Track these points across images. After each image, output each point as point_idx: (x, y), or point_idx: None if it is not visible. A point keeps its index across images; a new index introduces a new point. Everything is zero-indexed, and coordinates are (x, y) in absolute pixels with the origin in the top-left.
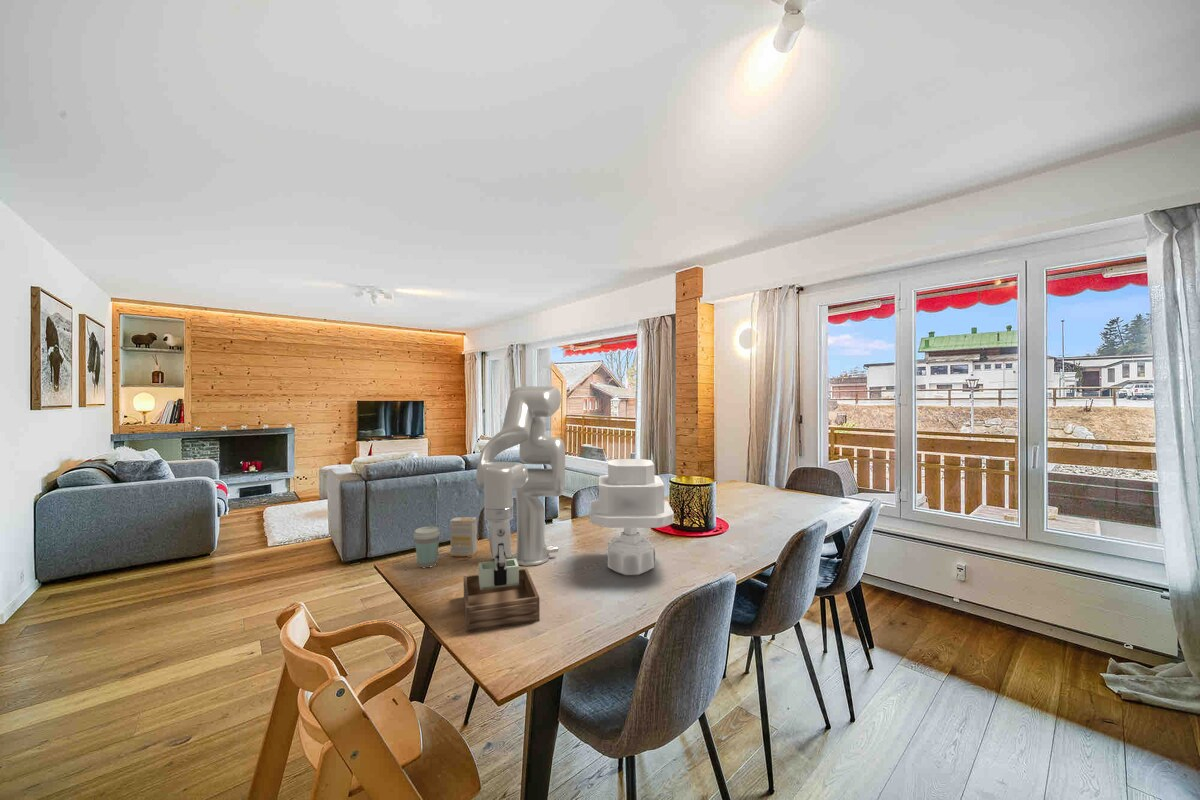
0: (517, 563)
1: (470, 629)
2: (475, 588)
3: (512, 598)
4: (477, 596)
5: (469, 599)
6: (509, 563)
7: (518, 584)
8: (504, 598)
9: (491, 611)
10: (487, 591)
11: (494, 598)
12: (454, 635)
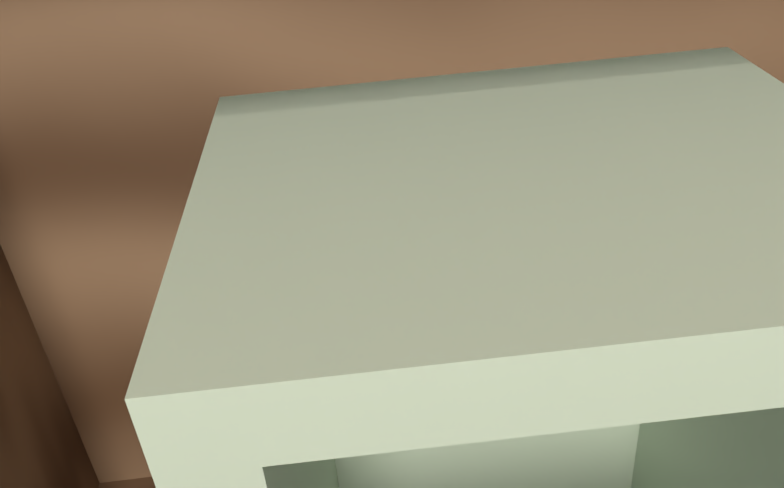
0: (771, 337)
1: None
2: (52, 474)
3: (221, 25)
4: (120, 401)
5: None
6: (296, 475)
7: (727, 60)
8: (208, 130)
9: None
10: (26, 332)
11: None
12: None
